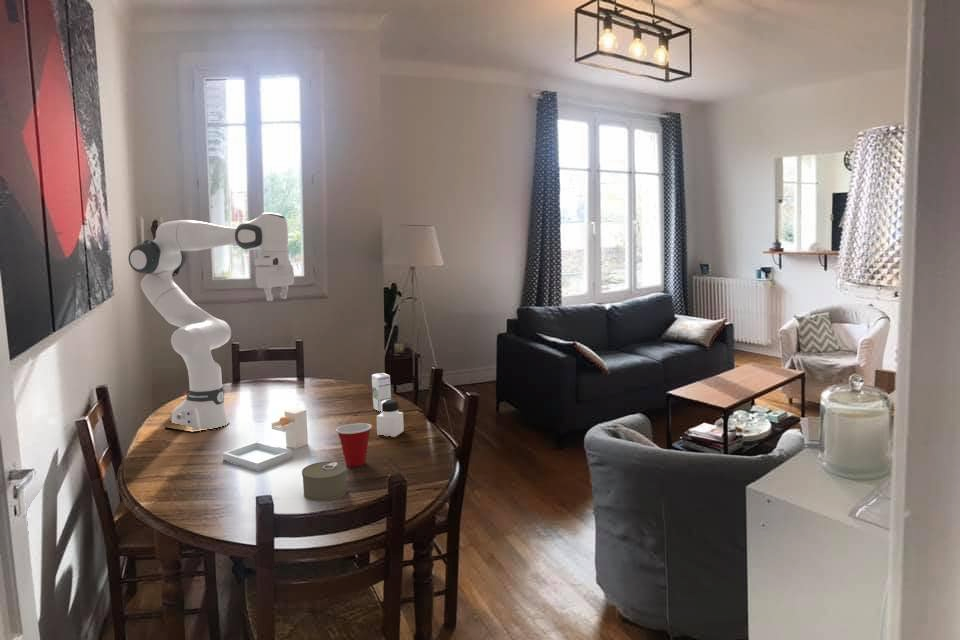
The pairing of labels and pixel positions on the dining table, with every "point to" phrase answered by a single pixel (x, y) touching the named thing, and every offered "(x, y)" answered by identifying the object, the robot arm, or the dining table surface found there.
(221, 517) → the dining table surface
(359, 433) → the plastic cup
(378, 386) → the syrup box
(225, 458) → the tray
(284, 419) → the ball
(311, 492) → the can
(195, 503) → the dining table surface
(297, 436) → the white block with shelf
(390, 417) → the medicine bottle
